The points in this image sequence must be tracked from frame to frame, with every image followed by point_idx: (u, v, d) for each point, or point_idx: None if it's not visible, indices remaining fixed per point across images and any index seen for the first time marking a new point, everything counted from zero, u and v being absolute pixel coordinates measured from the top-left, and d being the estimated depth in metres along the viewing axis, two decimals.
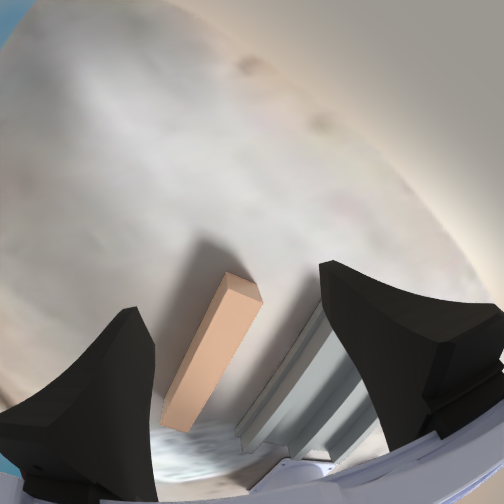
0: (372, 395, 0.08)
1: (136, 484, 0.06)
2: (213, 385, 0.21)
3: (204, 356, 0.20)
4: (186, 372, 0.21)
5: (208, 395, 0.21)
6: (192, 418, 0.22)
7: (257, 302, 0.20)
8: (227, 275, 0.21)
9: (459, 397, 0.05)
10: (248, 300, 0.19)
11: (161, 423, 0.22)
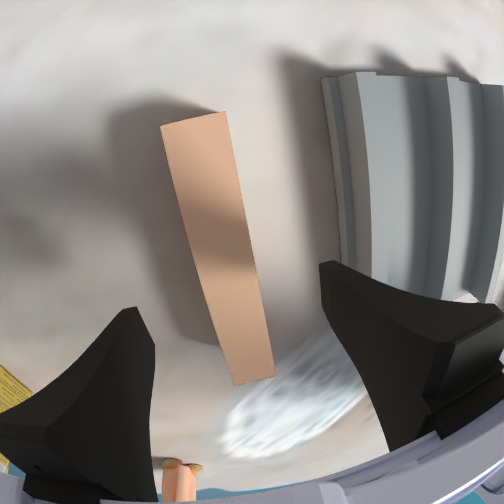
0: (371, 395, 0.08)
1: (136, 484, 0.06)
2: (255, 286, 0.14)
3: (207, 249, 0.13)
4: (204, 291, 0.14)
5: (260, 306, 0.14)
6: (265, 352, 0.16)
7: (216, 115, 0.10)
8: None
9: (459, 397, 0.05)
10: (200, 121, 0.11)
11: (234, 382, 0.16)
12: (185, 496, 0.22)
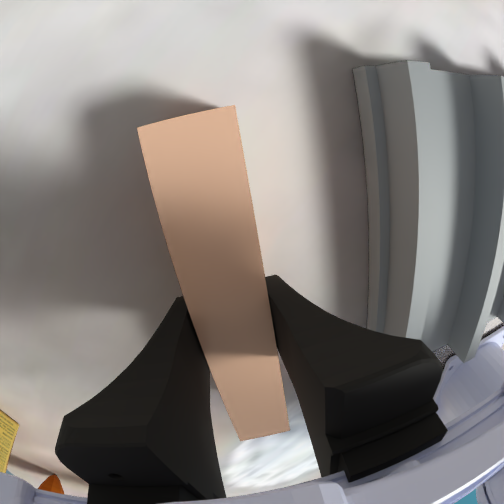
0: (305, 418, 0.08)
1: (211, 480, 0.06)
2: (270, 344, 0.10)
3: (208, 301, 0.09)
4: (204, 350, 0.10)
5: (276, 365, 0.11)
6: (279, 409, 0.12)
7: (220, 112, 0.07)
8: None
9: (371, 439, 0.05)
10: (197, 120, 0.07)
11: (241, 438, 0.13)
12: None
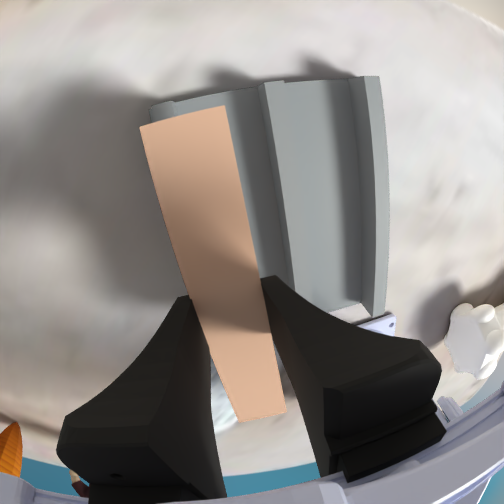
0: (304, 418, 0.08)
1: (213, 480, 0.06)
2: (263, 323, 0.11)
3: (205, 282, 0.10)
4: (203, 329, 0.11)
5: (270, 344, 0.12)
6: (275, 390, 0.13)
7: (212, 111, 0.08)
8: None
9: (370, 440, 0.05)
10: (192, 119, 0.08)
11: (240, 420, 0.14)
12: None
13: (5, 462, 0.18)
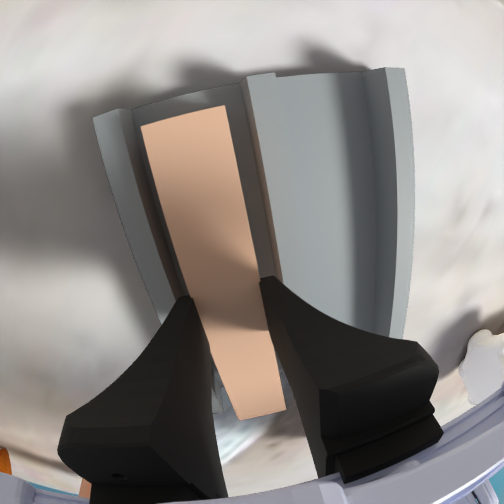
0: (301, 419, 0.08)
1: (214, 480, 0.06)
2: (263, 320, 0.11)
3: (205, 279, 0.10)
4: (203, 327, 0.11)
5: (269, 341, 0.12)
6: (274, 387, 0.13)
7: (212, 111, 0.08)
8: None
9: (367, 442, 0.05)
10: (192, 119, 0.08)
11: (239, 418, 0.14)
12: None
13: None
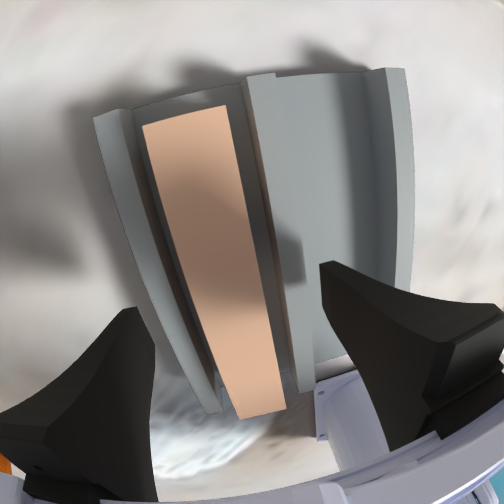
0: (372, 395, 0.08)
1: (136, 484, 0.06)
2: (263, 319, 0.11)
3: (205, 278, 0.10)
4: (203, 325, 0.11)
5: (269, 340, 0.12)
6: (275, 386, 0.13)
7: (213, 111, 0.08)
8: None
9: (459, 396, 0.05)
10: (193, 119, 0.08)
11: (240, 417, 0.14)
12: None
13: None
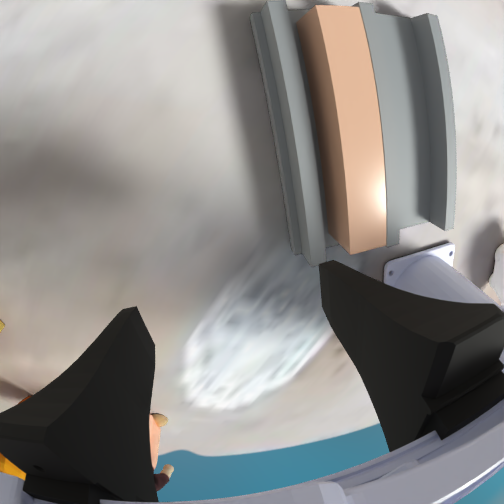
0: (371, 395, 0.08)
1: (136, 484, 0.06)
2: (379, 140, 0.14)
3: (347, 99, 0.13)
4: (341, 138, 0.14)
5: (382, 160, 0.15)
6: (381, 212, 0.16)
7: (353, 8, 0.11)
8: (302, 18, 0.13)
9: (459, 396, 0.05)
10: (343, 9, 0.11)
11: (351, 251, 0.17)
12: None
13: None
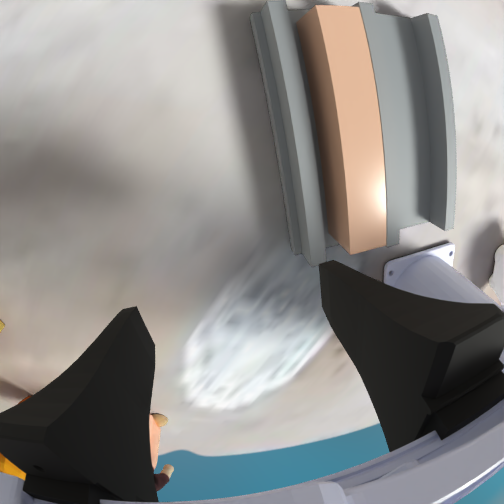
0: (371, 395, 0.08)
1: (136, 484, 0.06)
2: (379, 140, 0.14)
3: (347, 99, 0.13)
4: (341, 138, 0.14)
5: (382, 160, 0.15)
6: (381, 212, 0.16)
7: (353, 8, 0.11)
8: (302, 18, 0.13)
9: (459, 396, 0.05)
10: (343, 9, 0.11)
11: (351, 251, 0.17)
12: None
13: None
